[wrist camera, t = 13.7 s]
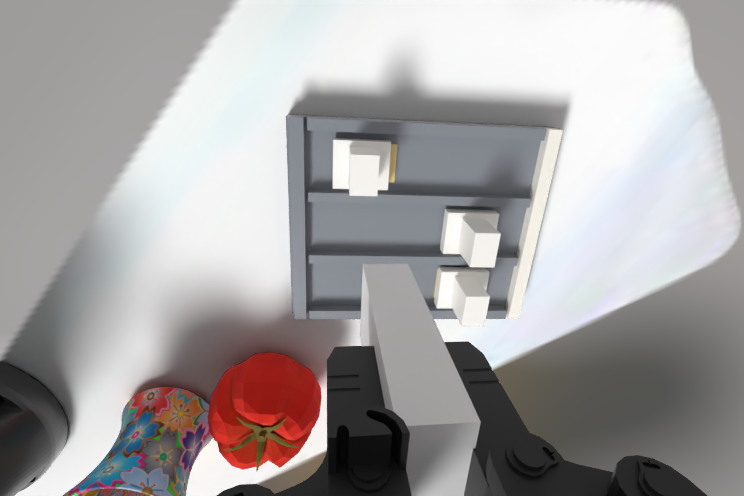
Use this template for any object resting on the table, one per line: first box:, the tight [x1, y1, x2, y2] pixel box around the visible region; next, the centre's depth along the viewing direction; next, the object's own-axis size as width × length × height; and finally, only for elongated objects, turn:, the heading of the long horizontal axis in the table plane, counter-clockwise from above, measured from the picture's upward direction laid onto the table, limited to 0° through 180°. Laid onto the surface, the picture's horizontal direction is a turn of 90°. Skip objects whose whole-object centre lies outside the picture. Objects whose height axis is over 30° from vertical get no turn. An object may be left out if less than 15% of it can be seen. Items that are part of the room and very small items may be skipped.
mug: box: [63, 387, 213, 496], centre depth 33 cm, size 12×9×11 cm
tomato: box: [208, 352, 321, 470], centre depth 34 cm, size 9×9×8 cm
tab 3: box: [434, 267, 490, 326], centre depth 31 cm, size 4×3×4 cm
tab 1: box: [333, 138, 391, 196], centre depth 26 cm, size 4×3×4 cm
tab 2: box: [440, 209, 501, 268], centre depth 29 cm, size 4×3×4 cm
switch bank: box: [286, 115, 563, 319], centre depth 31 cm, size 20×16×2 cm
